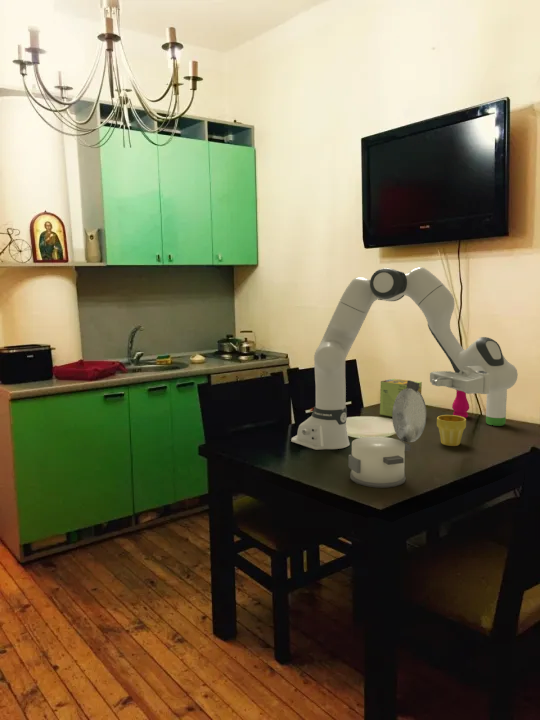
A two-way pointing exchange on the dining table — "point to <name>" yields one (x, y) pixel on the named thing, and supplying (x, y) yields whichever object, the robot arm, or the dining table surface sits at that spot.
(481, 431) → the dining table surface
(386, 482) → the cooker
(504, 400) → the wine bottle
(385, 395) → the protein box
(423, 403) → the lid
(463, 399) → the pepper mill
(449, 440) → the plant pot
